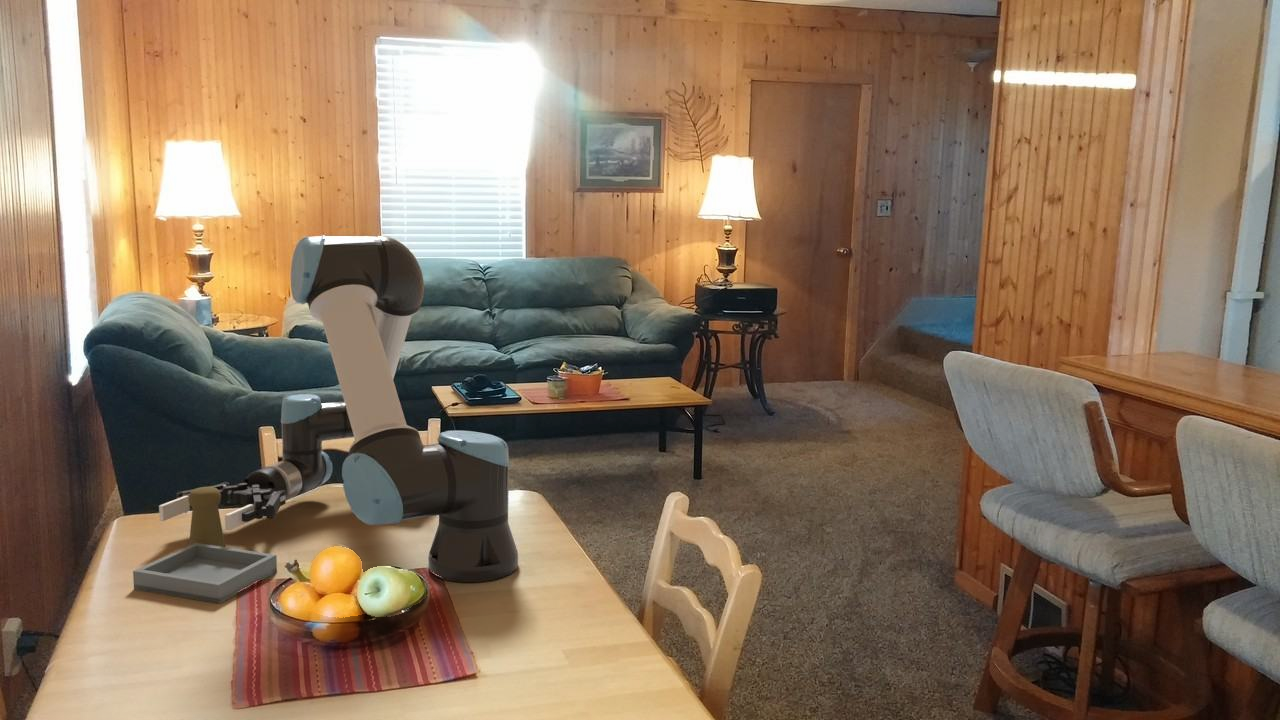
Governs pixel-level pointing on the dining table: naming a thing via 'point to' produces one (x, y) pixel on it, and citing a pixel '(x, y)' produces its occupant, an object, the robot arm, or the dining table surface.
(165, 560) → the tray
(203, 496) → the cork
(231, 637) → the dining table surface
